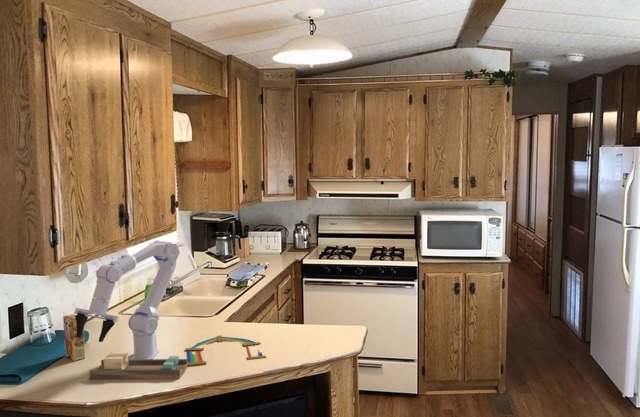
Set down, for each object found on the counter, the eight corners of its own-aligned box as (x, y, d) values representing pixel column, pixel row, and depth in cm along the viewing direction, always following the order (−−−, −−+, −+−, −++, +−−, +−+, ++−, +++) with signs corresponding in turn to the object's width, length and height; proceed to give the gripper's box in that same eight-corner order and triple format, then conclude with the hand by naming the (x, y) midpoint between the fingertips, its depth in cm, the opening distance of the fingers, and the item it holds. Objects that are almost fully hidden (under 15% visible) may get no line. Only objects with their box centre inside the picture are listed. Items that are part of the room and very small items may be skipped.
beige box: (111, 365, 187) (110, 352, 187) (128, 364, 187) (128, 352, 187) (104, 371, 181) (103, 358, 181) (121, 371, 181) (121, 358, 181)
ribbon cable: (184, 341, 218) (185, 367, 189) (183, 338, 218) (185, 364, 189) (255, 334, 226) (267, 358, 197) (255, 332, 226) (267, 355, 197)
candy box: (86, 358, 199) (84, 318, 198) (74, 361, 196) (72, 320, 195) (76, 352, 205) (74, 313, 204) (64, 355, 202) (62, 316, 201)
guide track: (102, 367, 189) (102, 355, 189) (187, 367, 189) (187, 354, 188) (90, 379, 179) (89, 366, 179) (179, 378, 179) (179, 365, 178)
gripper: (75, 294, 180) (63, 335, 177) (117, 302, 180) (106, 343, 177) (84, 295, 187) (72, 335, 184) (124, 304, 187) (113, 343, 183)
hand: (89, 339), depth 181 cm, fingers open, 7 cm apart
